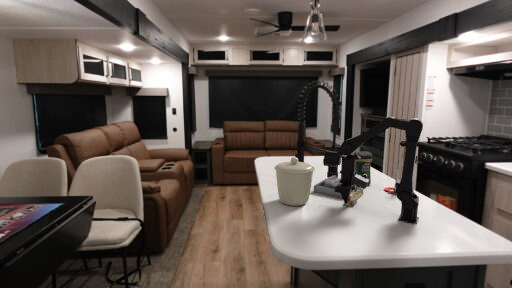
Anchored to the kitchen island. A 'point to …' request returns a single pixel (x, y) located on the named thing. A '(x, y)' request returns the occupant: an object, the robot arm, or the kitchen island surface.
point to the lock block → (332, 182)
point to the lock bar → (354, 197)
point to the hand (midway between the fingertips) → (346, 203)
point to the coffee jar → (364, 164)
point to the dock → (330, 191)
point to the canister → (294, 181)
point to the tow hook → (392, 187)
